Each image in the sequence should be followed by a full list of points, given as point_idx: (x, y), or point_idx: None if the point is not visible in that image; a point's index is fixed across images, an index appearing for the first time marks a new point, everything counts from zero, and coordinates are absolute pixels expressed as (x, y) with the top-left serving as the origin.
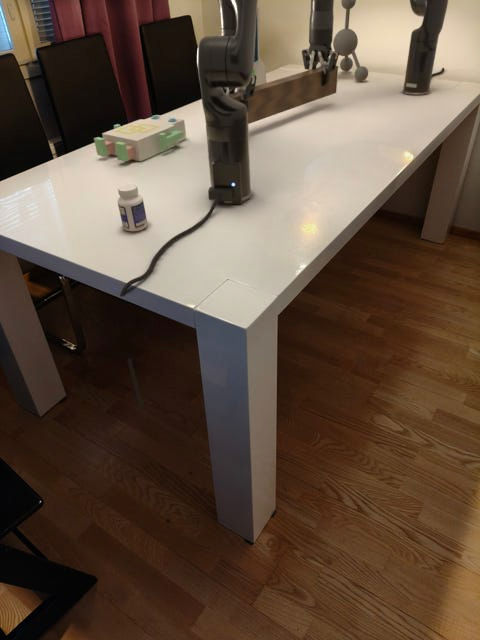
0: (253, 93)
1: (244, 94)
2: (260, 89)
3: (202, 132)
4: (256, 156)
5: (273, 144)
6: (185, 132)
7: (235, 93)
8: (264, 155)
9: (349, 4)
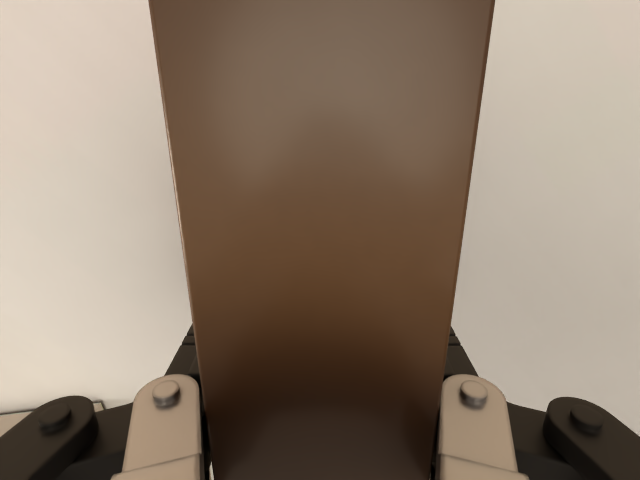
0: (637, 444)
1: (434, 429)
2: (485, 15)
3: (50, 281)
4: (579, 369)
5: (570, 193)
6: None
7: (275, 455)
8: (609, 341)
9: None
